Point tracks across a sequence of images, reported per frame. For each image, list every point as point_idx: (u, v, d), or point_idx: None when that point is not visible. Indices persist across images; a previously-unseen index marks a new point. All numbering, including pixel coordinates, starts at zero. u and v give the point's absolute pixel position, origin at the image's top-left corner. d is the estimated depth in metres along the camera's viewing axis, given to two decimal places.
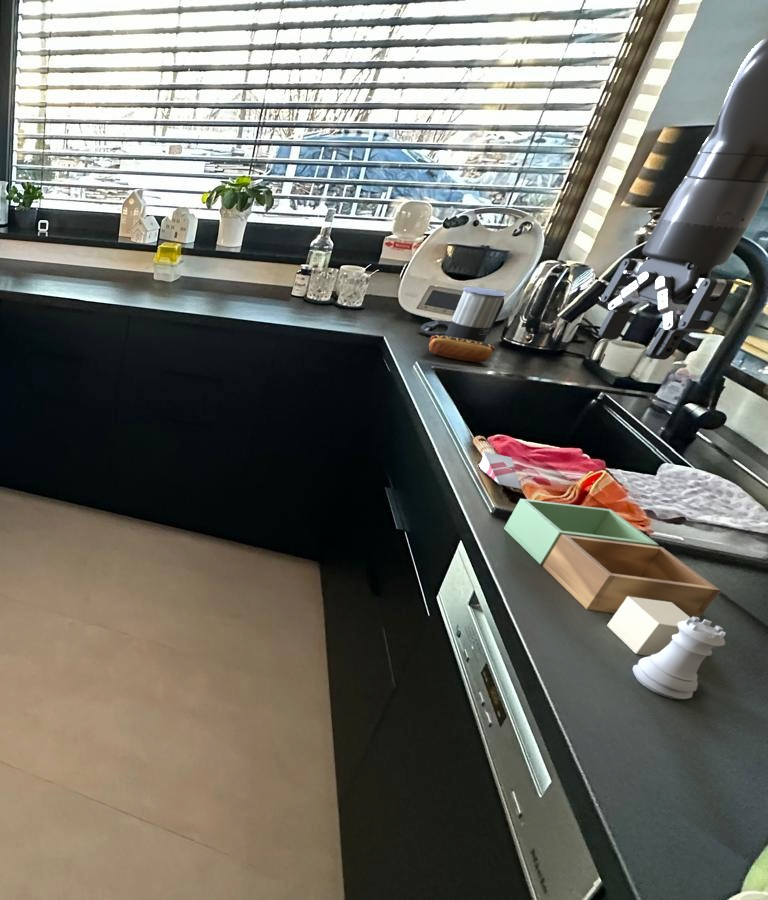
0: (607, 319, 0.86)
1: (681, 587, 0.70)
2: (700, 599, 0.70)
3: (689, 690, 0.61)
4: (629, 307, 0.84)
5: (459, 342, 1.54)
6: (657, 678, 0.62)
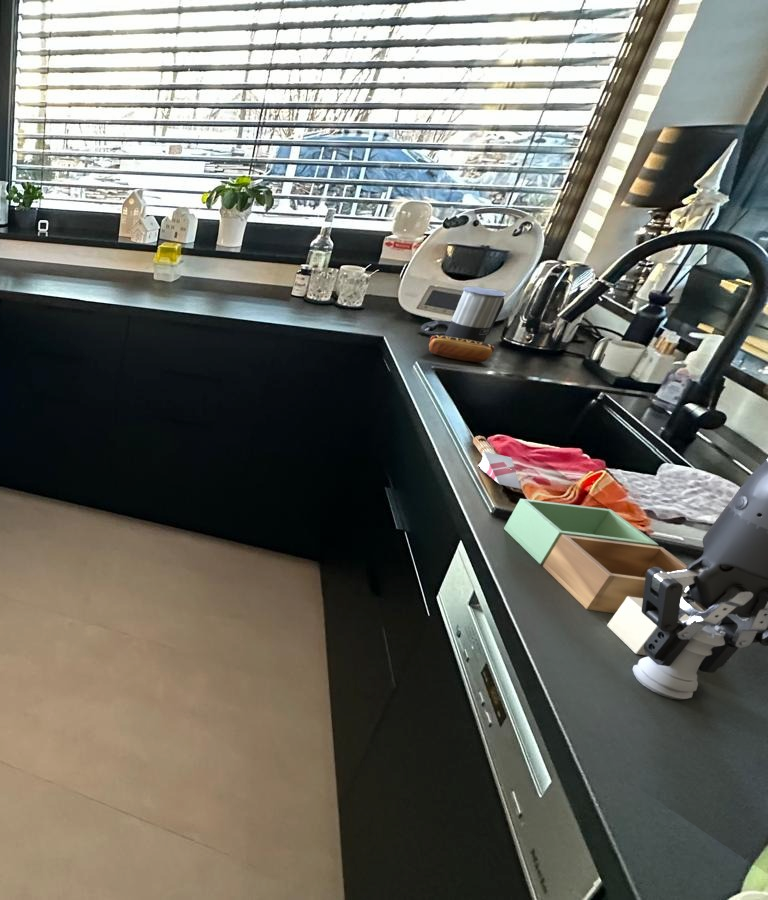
0: None
1: None
2: None
3: (689, 690, 0.61)
4: (728, 636, 0.59)
5: (459, 342, 1.54)
6: (657, 678, 0.62)
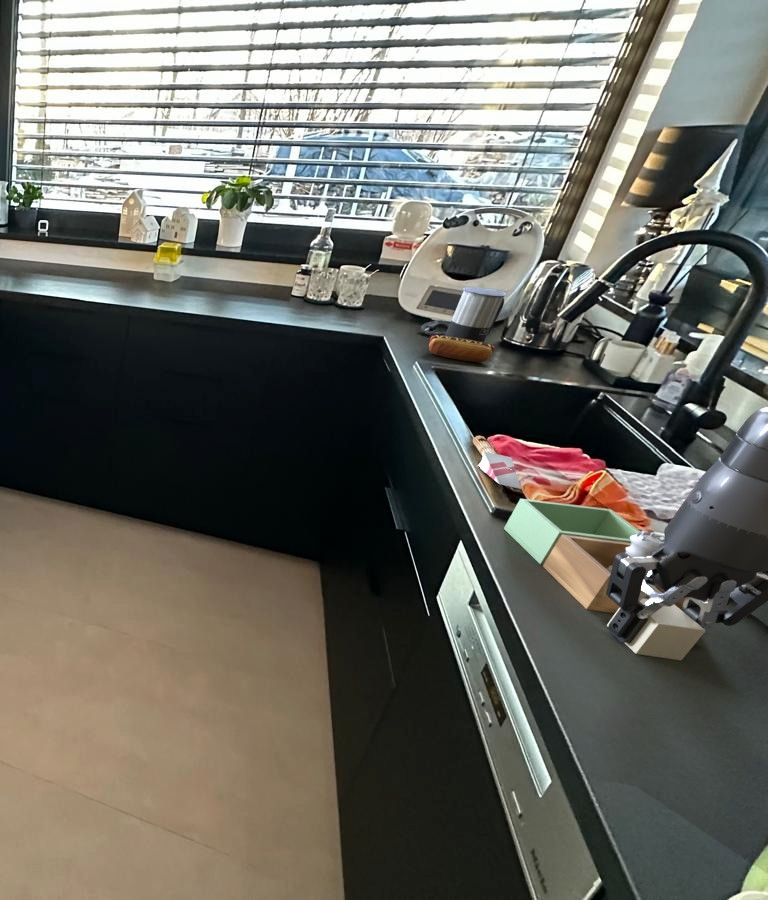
0: None
1: None
2: None
3: None
4: (695, 617, 0.66)
5: (459, 342, 1.54)
6: None
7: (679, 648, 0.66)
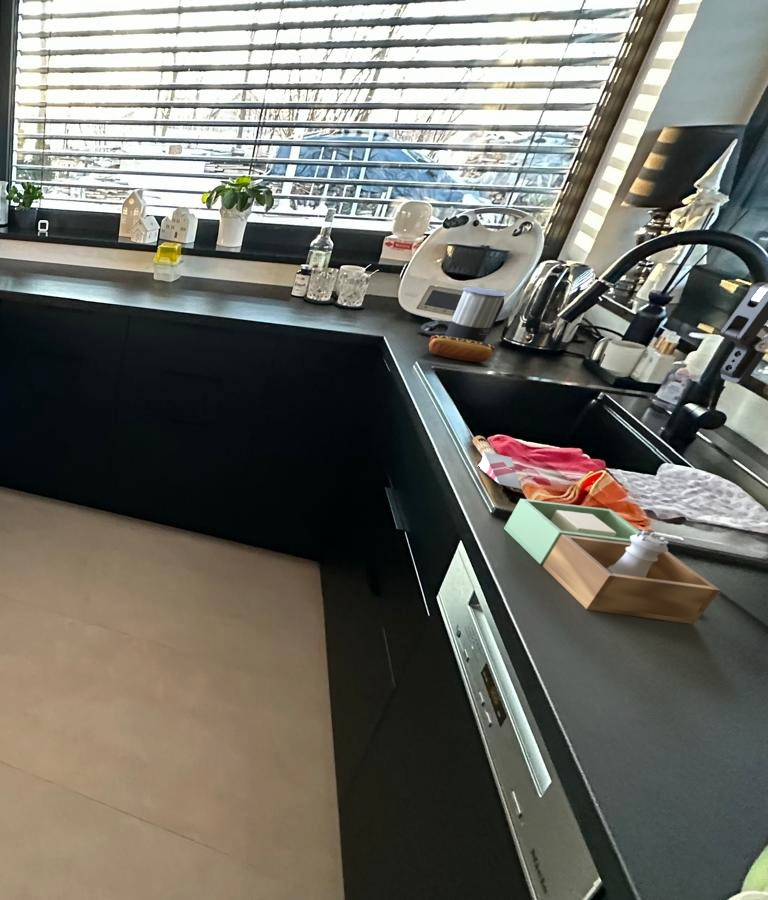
0: None
1: (681, 587, 0.70)
2: (700, 599, 0.70)
3: None
4: None
5: (459, 342, 1.54)
6: None
7: None
